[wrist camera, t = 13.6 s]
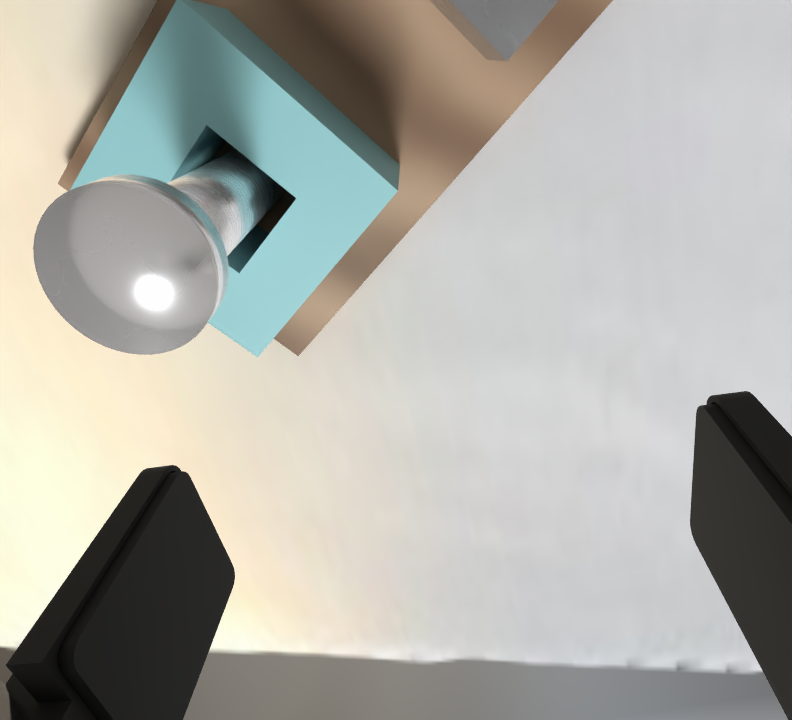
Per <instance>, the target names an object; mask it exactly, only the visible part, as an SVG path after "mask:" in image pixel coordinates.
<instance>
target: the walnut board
mask: <svg viewBox="0 0 792 720" xmlns="http://www.w3.org/2000/svg"><path fill="white" fill-rule="evenodd" d="M193 1H197V2H201V3H205V4H209V5H213V6H217V7H221V8H225V9H228V10H229V11H230V12H231V13H232V14H233V15H235V16H236V17H237V18H238V19H239V20H240V21H241V22H242V23H243V24H245V25H246V26H247V27H248V28H249V29H250V30H251V31H252V32H253V33H255V34H256V35H257V36H258V37H259V38H260V39H261V40H262V41H263V42H264V43H266V44H267V45H268V46H269V47H270V48H271V49H272V50H273V51H274V52H276V53H277V54H278V55H279V56H280V57H281V58H282V59H283V60H284V61H286V62H287V63H288V64H289V65H290V66H291V67H292V68H293V69H294V70H296V71H297V72H298V73H299V74H300V75H301V76H302V77H303V78H304V79H305V80H307V81H308V82H309V83H310V84H311V85H312V86H313V87H314V88H315V89H317V90H318V91H319V92H320V93H321V94H322V95H323V96H324V97H325V98H327V99H328V100H329V101H330V102H331V103H332V104H333V105H334V106H335V107H336V108H338V109H339V110H340V111H341V112H342V113H343V114H344V115H345V116H346V117H348V118H349V119H350V120H351V121H352V122H353V123H354V124H355V125H356V126H358V127H359V128H360V129H361V130H362V131H363V132H364V133H365V134H366V135H368V136H369V137H370V138H371V139H372V140H373V141H374V142H375V143H376V144H377V145H379V146H380V147H381V148H382V149H383V150H384V151H385V152H386V153H387V154H389V155H390V156H391V157H392V158H393V159H394V160H395V161H396V162H397V163H399V164H400V172H399V185H398V192H397V193H396V194H395V195H394V196H393V198H392V199H391V200H390V201H389V202H388V203H387V205H386V206H385V207H384V208H383V209H382V211H381V212H380V213H379V214H378V215H377V216H376V218H375V219H374V220H373V221H372V222H371V224H370V225H369V226H368V227H367V228H366V230H365V231H364V232H363V233H362V234H361V235H360V237H359V238H358V239H357V240H356V241H355V243H354V244H353V245H352V246H351V247H350V248H349V250H348V251H347V252H346V253H345V254H344V256H343V257H342V258H341V259H340V260H339V261H338V263H337V264H336V265H335V266H334V267H333V269H332V270H331V271H330V272H329V273H328V275H327V276H326V277H325V278H324V279H323V280H322V282H321V283H320V284H319V285H318V286H317V288H316V289H315V290H314V291H313V292H312V293H311V295H310V296H309V297H308V298H307V299H306V301H305V302H304V303H303V304H302V305H301V307H300V308H299V309H298V310H297V311H296V312H295V314H294V315H293V316H292V317H291V318H290V320H289V321H288V322H287V323H286V324H285V325H284V327H283V328H282V329H281V330H280V331H279V333H278V334H277V335H276V336H275V337H274V339H275V340H277V341H278V342H279V343H281V344H282V345H284V346H285V347H286V348H288V349H289V350H291V351H292V352H293V353H295V354H296V355H298V356H299V355H300V354H301V352H302V351H303V350H304V349H305V348H306V347H307V346H308V344H309V343H310V342H311V341H312V340H313V339H314V338H315V337H316V335H317V334H318V333H319V332H320V331H321V330H322V329H323V327H324V326H325V325H326V324H327V323H328V322H329V321H330V320H331V318H332V317H333V316H334V315H335V314H336V313H337V312H338V311H339V309H340V308H341V307H342V306H343V305H344V304H345V303H346V301H347V300H348V299H349V298H350V297H351V296H352V295H353V294H354V292H355V291H356V290H357V289H358V288H359V287H360V286H361V285H362V283H363V282H364V281H365V280H366V279H367V278H368V277H369V275H370V274H371V273H372V272H373V271H374V270H375V269H376V268H377V266H378V265H379V264H380V263H381V262H382V261H383V260H384V258H385V257H386V256H387V255H388V254H389V253H390V252H391V251H392V249H393V248H394V247H395V246H396V245H397V244H398V243H399V242H400V240H401V239H402V238H403V237H404V236H405V235H406V234H407V232H408V231H409V230H410V229H411V228H412V227H413V226H414V225H415V223H416V222H417V221H418V220H419V219H420V218H421V217H422V216H423V214H424V213H425V212H426V211H427V210H428V209H429V208H430V206H431V205H432V204H433V203H434V202H435V201H436V200H437V199H438V197H439V196H440V195H441V194H442V193H443V192H444V191H445V189H446V188H447V187H448V186H449V185H450V184H451V183H452V182H453V180H454V179H455V178H456V177H457V176H458V175H459V174H460V173H461V171H462V170H463V169H464V168H465V167H466V166H467V165H468V163H469V162H470V161H471V160H472V159H473V158H474V157H475V156H476V154H477V153H478V152H479V151H480V150H481V149H482V148H483V147H484V145H485V144H486V143H487V142H488V141H489V140H490V139H491V137H492V136H493V135H494V134H495V133H496V132H497V131H498V130H499V128H500V127H501V126H502V125H503V124H504V123H505V122H506V120H507V119H508V118H509V117H510V116H511V115H512V114H513V113H514V111H515V110H516V109H517V108H518V107H519V106H520V105H521V104H522V102H523V101H524V100H525V99H526V98H527V97H528V96H529V94H530V93H531V92H532V91H533V90H534V89H535V88H536V87H537V85H538V84H539V83H540V82H541V81H542V80H543V79H544V77H545V76H546V75H547V74H548V73H549V72H550V71H551V70H552V68H553V67H554V66H555V65H556V64H557V63H558V62H559V61H560V59H561V58H562V57H563V56H564V55H565V54H566V53H567V51H568V50H569V49H570V48H571V47H572V46H573V45H574V44H575V42H576V41H577V40H578V39H579V38H580V37H581V36H582V35H583V33H584V32H585V31H586V30H587V29H588V28H589V27H590V25H591V24H592V23H593V22H594V21H595V20H596V19H597V18H598V16H599V15H600V14H601V13H602V12H603V11H604V10H605V8H606V7H607V6H608V5H609V4H610V3H611V2H612V1H613V0H559V1H558V2H557V3H556V4H555V6H554V7H553V8H552V9H551V10H550V12H549V13H548V14H547V15H546V16H545V17H544V19H543V20H542V21H541V22H540V23H539V25H538V26H537V27H536V28H535V29H534V31H533V32H532V33H531V34H530V35H529V36H528V38H527V39H526V40H525V41H524V42H523V44H522V45H521V46H520V47H519V48H518V49H517V51H516V52H515V53H514V54H513V55H512V57H511V58H510V59H509V60H508V61H495V60H486V59H485V58H484V57H483V55H482V54H481V53H480V52H479V51H478V50H477V49H476V48H475V47H474V46H473V45H472V44H471V43H470V42H469V41H468V40H467V39H466V38H465V37H464V36H463V35H462V34H461V33H460V32H459V30H458V29H457V28H456V27H455V26H454V25H453V24H452V23H451V22H450V21H449V20H448V19H447V18H446V17H445V16H444V15H443V14H442V13H441V12H440V11H439V10H438V9H437V8H436V7H435V6H434V4H433V3H432V2H431V1H430V0H193ZM175 2H176V0H158V1H157V3H156V5H155V7H154V8H153V10H152V12H151V14H150V16H149V18H148V19H147V21H146V23H145V25H144V27H143V29H142V30H141V32H140V34H139V36H138V38H137V40H136V41H135V43H134V45H133V47H132V49H131V50H130V52H129V54H128V56H127V58H126V60H125V61H124V63H123V65H122V67H121V69H120V71H119V72H118V74H117V76H116V78H115V80H114V82H113V83H112V85H111V87H110V89H109V91H108V93H107V94H106V96H105V98H104V100H103V102H102V104H101V105H100V107H99V109H98V111H97V113H96V114H95V116H94V118H93V120H92V122H91V124H90V125H89V127H88V129H87V131H86V133H85V135H84V136H83V138H82V140H81V142H80V144H79V146H78V147H77V149H76V151H75V153H74V155H73V157H72V158H71V160H70V162H69V164H68V166H67V167H66V169H65V171H64V173H63V175H62V177H61V178H60V180H59V182H58V184H59V185H60V186H62V187H63V188H64V189H66V190H67V191H70V189H71V187H72V186H73V184H74V182H75V180H76V179H77V177H78V175H79V173H80V171H81V170H82V168H83V166H84V164H85V163H86V161H87V159H88V157H89V155H90V154H91V152H92V150H93V148H94V146H95V145H96V143H97V141H98V139H99V138H100V136H101V134H102V132H103V130H104V129H105V127H106V125H107V123H108V121H109V120H110V118H111V116H112V114H113V113H114V111H115V109H116V107H117V105H118V104H119V102H120V100H121V98H122V97H123V95H124V93H125V91H126V89H127V88H128V86H129V84H130V82H131V80H132V79H133V77H134V75H135V73H136V72H137V70H138V68H139V66H140V64H141V63H142V61H143V59H144V57H145V56H146V54H147V52H148V50H149V48H150V47H151V45H152V43H153V41H154V39H155V38H156V36H157V34H158V32H159V31H160V29H161V27H162V25H163V23H164V22H165V20H166V18H167V16H168V14H169V13H170V11H171V9H172V7H173V6H174V4H175ZM233 150H235V148H234V147H233V146H232V145H231V144H229V143H228V142H227V141H226V142H225V144H224V145H223V147H222V148H221V150H220V151H219V153H218V154H217V156H216V157H215V159H217V158H219V157H221V156H223V155H225V154H227V153H229V152H231V151H233ZM215 159H214V160H215ZM295 200H296V198H295V197H294V196H293V195H292V194H290V193H289V192H288V191H287V190H286V191H285V193H284V195H283V196H282V197H281V198H280V199H279V200H278V201H277V203H276V204H275V205H274V206H273V207H272V208H271V209H270V210H269V211H268V212H267V213H266V215H265V216H264V217H263V218H262V219H261V220H260V221H259V222H258V223H257V225H258V226H260V227H261V228H262V229H264V230H265V231H266V232H267V233H269V234H270V232H271V231H272V230H273V228H274V227H275V226H276V225H277V223H278V222H279V221H280V219H281V218H282V217H283V215H284V214H285V213H286V211H287V210H288V209H289V207H290V206H291V205H292V203H293V202H294V201H295Z"/></svg>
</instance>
